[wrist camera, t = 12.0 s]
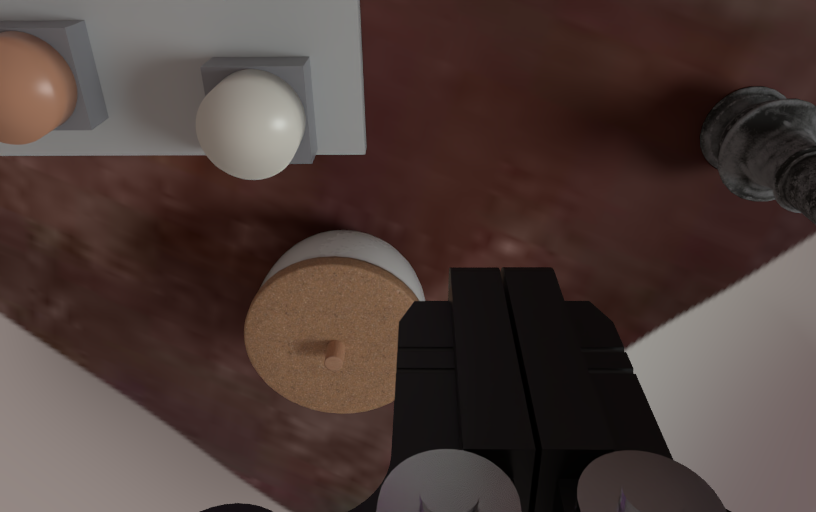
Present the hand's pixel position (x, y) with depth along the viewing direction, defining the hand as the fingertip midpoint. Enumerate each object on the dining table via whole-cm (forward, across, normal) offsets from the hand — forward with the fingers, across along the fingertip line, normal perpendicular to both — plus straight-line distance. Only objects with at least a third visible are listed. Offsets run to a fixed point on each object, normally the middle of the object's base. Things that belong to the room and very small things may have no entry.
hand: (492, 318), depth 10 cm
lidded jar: (+29, +6, +17) cm, 34 cm away
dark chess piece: (+29, -18, +7) cm, 35 cm away
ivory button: (+28, +10, +5) cm, 30 cm away
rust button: (+28, +22, +3) cm, 36 cm away
